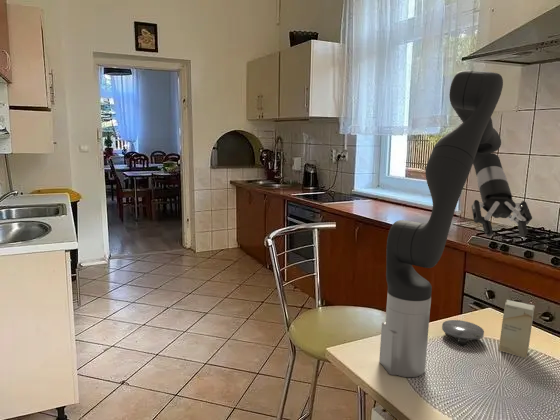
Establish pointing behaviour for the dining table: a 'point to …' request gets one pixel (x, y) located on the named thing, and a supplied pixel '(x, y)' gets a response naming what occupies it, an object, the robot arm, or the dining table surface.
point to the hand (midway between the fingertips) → (507, 235)
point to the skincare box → (516, 328)
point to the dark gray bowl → (462, 331)
